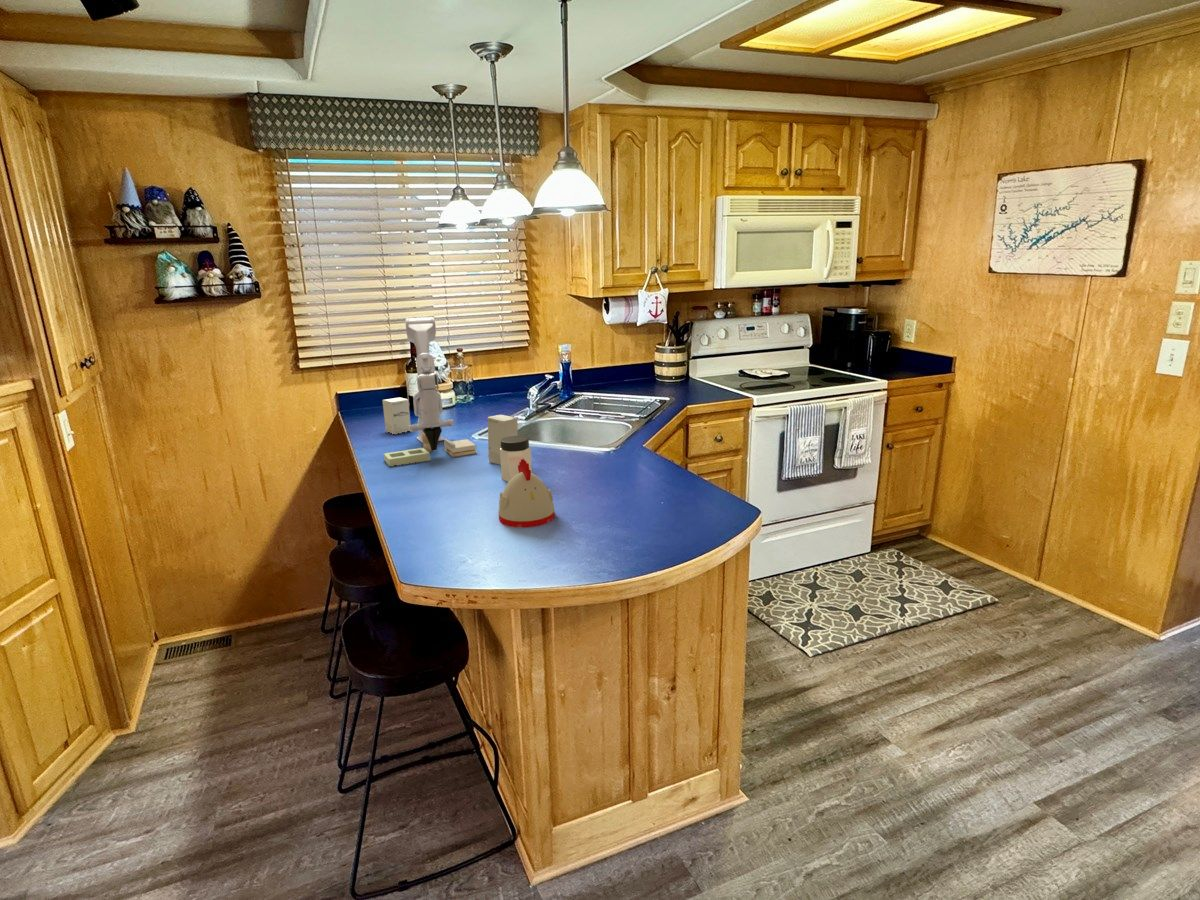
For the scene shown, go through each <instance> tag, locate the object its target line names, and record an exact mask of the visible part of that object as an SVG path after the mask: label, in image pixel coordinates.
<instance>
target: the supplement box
mask: <svg viewBox="0 0 1200 900" xmlns="http://www.w3.org/2000/svg"><path fill="white" fill-rule="evenodd" d="M382 409H383V417H384V428H385V432H386V431H387V432H386V433H388V432H390V433H392V434H391V435H393V434H395V435H398V433H399V434H403V433H402V432H405V433H408V432H407V431H409V425H412V424H411V416H410V415H411V414H410V403H409V399H408V398H403V397H399V396H398V397H394V398H387V399H382ZM390 433H389V434H390Z"/></svg>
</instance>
